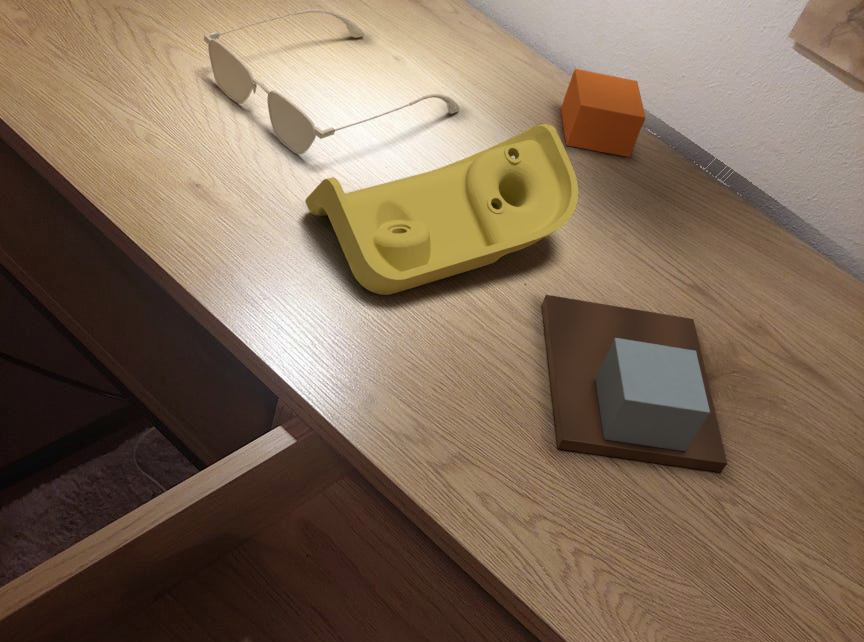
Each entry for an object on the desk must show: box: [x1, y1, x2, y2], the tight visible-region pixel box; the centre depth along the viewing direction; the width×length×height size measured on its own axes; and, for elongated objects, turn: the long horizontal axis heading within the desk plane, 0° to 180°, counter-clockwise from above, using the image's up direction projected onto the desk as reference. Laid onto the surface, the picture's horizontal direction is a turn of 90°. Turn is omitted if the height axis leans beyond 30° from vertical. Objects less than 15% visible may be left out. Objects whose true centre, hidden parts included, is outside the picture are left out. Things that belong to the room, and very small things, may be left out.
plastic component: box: [304, 123, 579, 296], centre depth 83 cm, size 20×7×10 cm
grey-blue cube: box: [595, 338, 710, 451], centre depth 74 cm, size 6×6×4 cm
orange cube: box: [560, 68, 646, 158], centre depth 97 cm, size 6×6×4 cm
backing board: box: [541, 294, 728, 473], centre depth 78 cm, size 12×15×1 cm
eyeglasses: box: [203, 8, 461, 155], centre depth 92 cm, size 15×18×4 cm
